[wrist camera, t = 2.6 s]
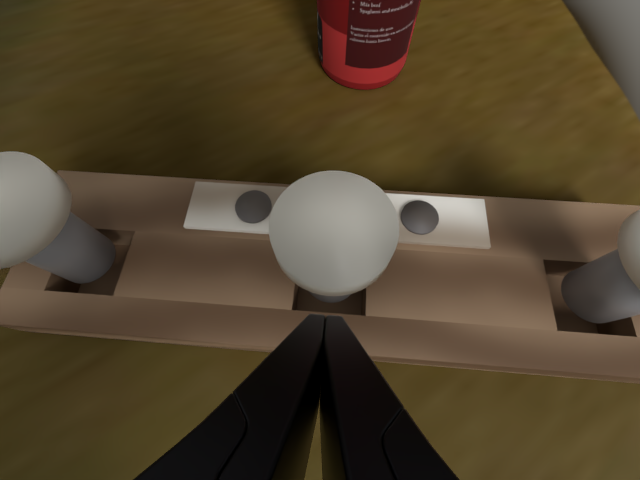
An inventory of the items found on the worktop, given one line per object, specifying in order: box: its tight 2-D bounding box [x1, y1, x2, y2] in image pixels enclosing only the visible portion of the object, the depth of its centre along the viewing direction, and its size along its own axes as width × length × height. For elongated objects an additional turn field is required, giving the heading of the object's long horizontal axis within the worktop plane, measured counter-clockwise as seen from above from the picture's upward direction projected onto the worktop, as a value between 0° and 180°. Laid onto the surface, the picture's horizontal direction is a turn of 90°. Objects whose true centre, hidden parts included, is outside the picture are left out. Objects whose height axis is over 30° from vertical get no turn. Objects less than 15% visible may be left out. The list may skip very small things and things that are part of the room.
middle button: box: [269, 171, 399, 303], centre depth 16 cm, size 5×5×6 cm
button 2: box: [0, 152, 116, 284], centre depth 16 cm, size 5×5×6 cm
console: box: [0, 170, 640, 383], centre depth 20 cm, size 10×37×4 cm, turn 85°
